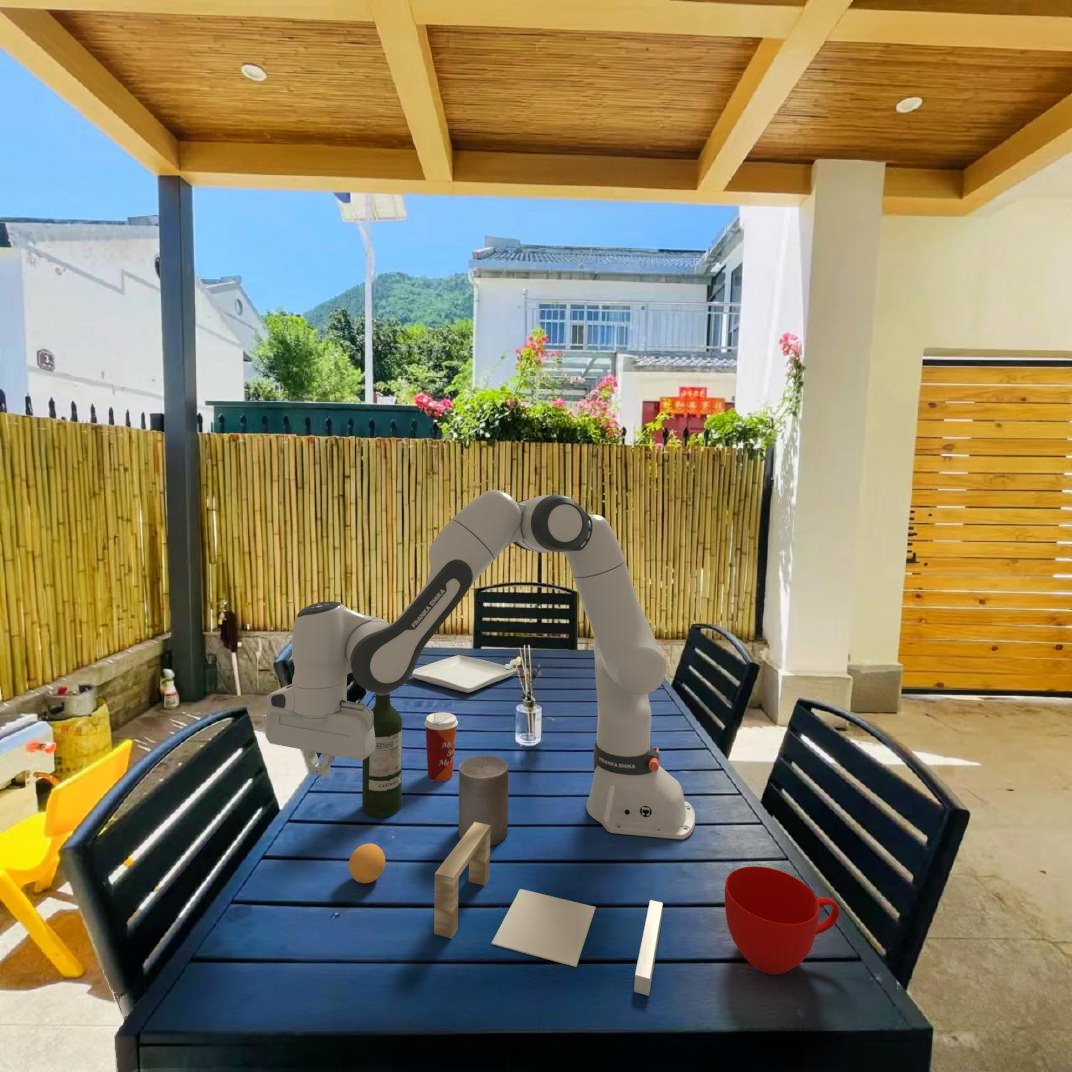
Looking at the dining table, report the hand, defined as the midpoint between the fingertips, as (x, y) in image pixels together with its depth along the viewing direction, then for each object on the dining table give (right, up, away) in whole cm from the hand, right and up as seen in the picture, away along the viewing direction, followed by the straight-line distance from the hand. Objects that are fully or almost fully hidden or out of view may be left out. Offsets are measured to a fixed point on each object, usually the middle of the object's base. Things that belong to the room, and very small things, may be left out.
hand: (320, 774), depth 107 cm
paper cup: (+15, -15, +36) cm, 42 cm away
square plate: (+12, -9, +106) cm, 107 cm away
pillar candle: (+27, -17, +14) cm, 35 cm away
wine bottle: (+5, -16, +22) cm, 27 cm away
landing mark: (+39, -19, -11) cm, 45 cm away
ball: (+9, -15, -2) cm, 17 cm away
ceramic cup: (+74, -21, -16) cm, 78 cm away
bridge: (+26, -19, -7) cm, 32 cm away
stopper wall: (+54, -20, -16) cm, 60 cm away
